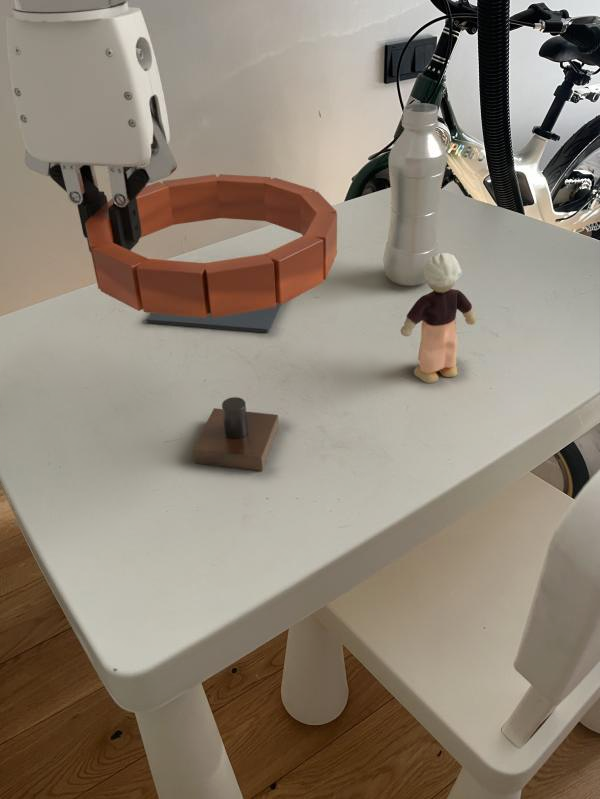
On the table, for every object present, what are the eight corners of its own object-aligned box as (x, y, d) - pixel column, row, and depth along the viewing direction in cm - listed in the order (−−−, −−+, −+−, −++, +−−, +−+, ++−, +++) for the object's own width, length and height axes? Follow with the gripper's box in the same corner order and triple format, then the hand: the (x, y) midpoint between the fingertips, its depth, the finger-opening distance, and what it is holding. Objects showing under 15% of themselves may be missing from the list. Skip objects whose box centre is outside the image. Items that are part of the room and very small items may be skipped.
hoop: (51, 304, 52) (40, 260, 50) (149, 206, 67) (144, 169, 65) (306, 328, 49) (305, 282, 47) (351, 219, 64) (352, 181, 62)
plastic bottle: (372, 284, 88) (378, 111, 77) (398, 262, 93) (407, 96, 81) (421, 297, 85) (434, 119, 74) (445, 274, 90) (462, 103, 78)
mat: (147, 323, 83) (146, 319, 82) (182, 275, 92) (182, 271, 92) (267, 333, 80) (267, 329, 80) (291, 282, 89) (291, 279, 89)
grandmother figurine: (449, 353, 76) (461, 237, 68) (474, 370, 73) (490, 252, 65) (389, 376, 73) (395, 258, 65) (413, 395, 70) (422, 274, 62)
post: (194, 463, 63) (188, 421, 60) (215, 420, 68) (210, 380, 65) (262, 471, 62) (259, 429, 59) (278, 427, 66) (276, 387, 64)
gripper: (198, -19, 50) (221, 235, 61) (-8, -19, 53) (49, 223, 64) (158, -2, 44) (191, 275, 55) (-72, -4, 47) (3, 260, 58)
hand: (115, 245), depth 59 cm, fingers closed on hoop, 1 cm apart
